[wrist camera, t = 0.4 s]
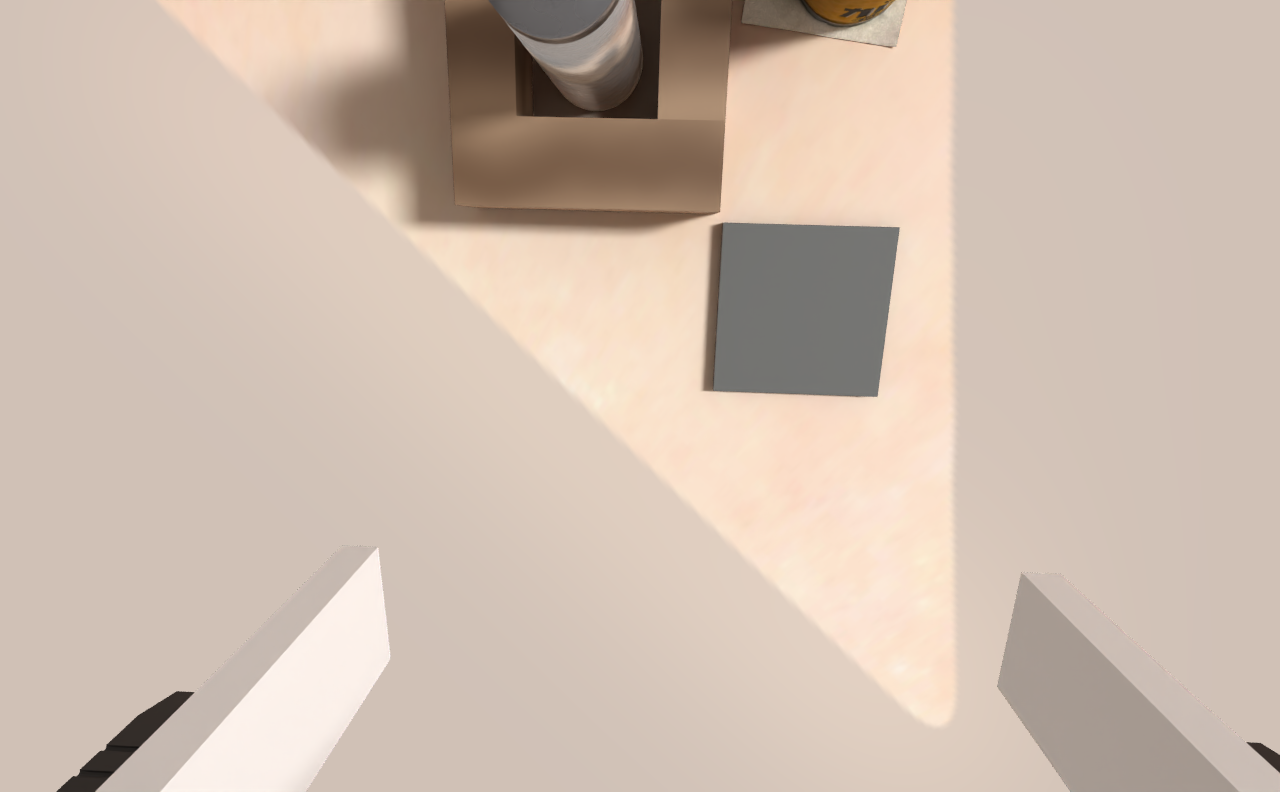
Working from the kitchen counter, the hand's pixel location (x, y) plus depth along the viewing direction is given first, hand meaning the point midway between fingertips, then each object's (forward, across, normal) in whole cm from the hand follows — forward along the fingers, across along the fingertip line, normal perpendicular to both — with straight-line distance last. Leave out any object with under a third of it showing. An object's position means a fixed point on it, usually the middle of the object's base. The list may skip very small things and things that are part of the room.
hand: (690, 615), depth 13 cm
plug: (+27, -5, +16) cm, 32 cm away
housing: (+27, -5, +16) cm, 32 cm away
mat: (+26, +7, +3) cm, 28 cm away
